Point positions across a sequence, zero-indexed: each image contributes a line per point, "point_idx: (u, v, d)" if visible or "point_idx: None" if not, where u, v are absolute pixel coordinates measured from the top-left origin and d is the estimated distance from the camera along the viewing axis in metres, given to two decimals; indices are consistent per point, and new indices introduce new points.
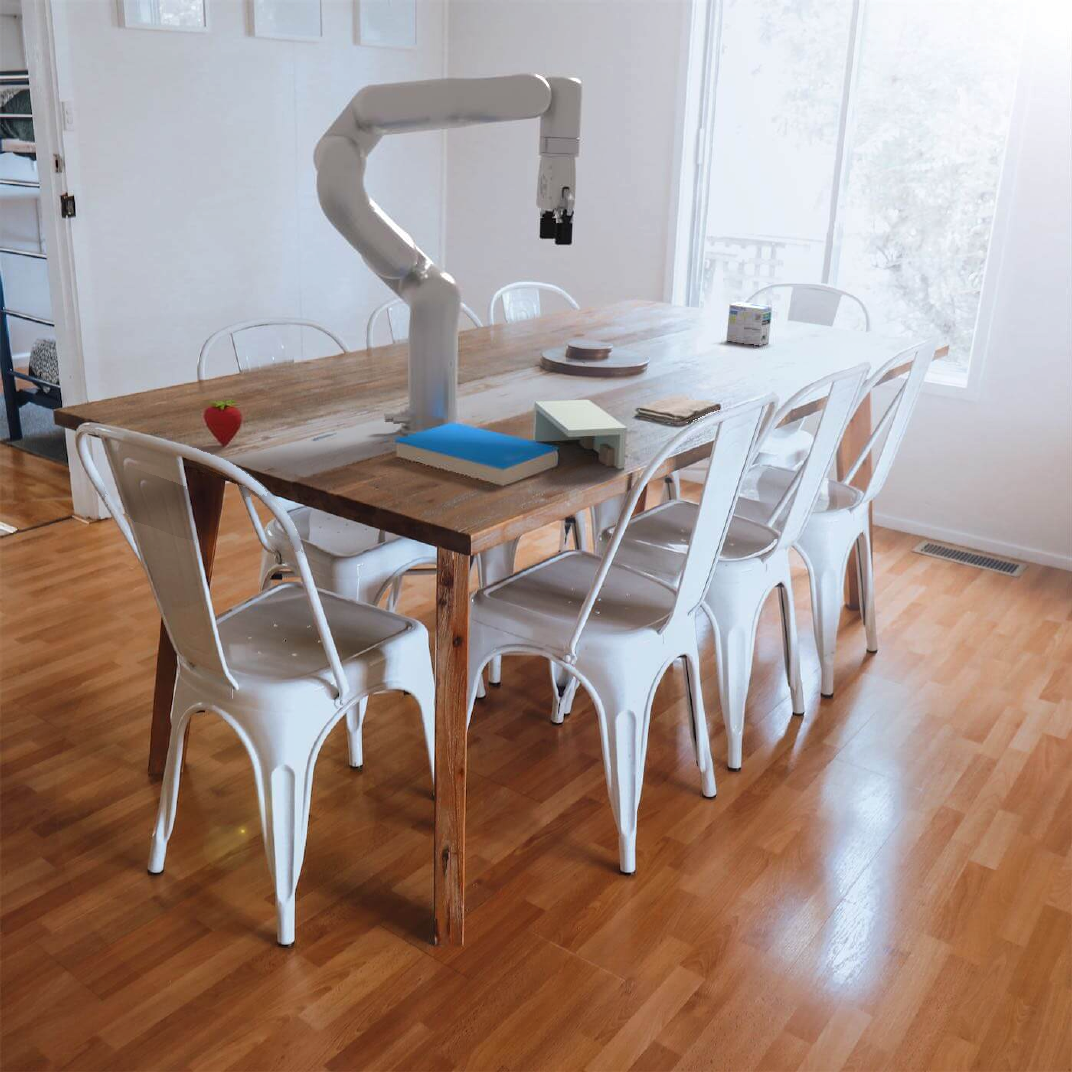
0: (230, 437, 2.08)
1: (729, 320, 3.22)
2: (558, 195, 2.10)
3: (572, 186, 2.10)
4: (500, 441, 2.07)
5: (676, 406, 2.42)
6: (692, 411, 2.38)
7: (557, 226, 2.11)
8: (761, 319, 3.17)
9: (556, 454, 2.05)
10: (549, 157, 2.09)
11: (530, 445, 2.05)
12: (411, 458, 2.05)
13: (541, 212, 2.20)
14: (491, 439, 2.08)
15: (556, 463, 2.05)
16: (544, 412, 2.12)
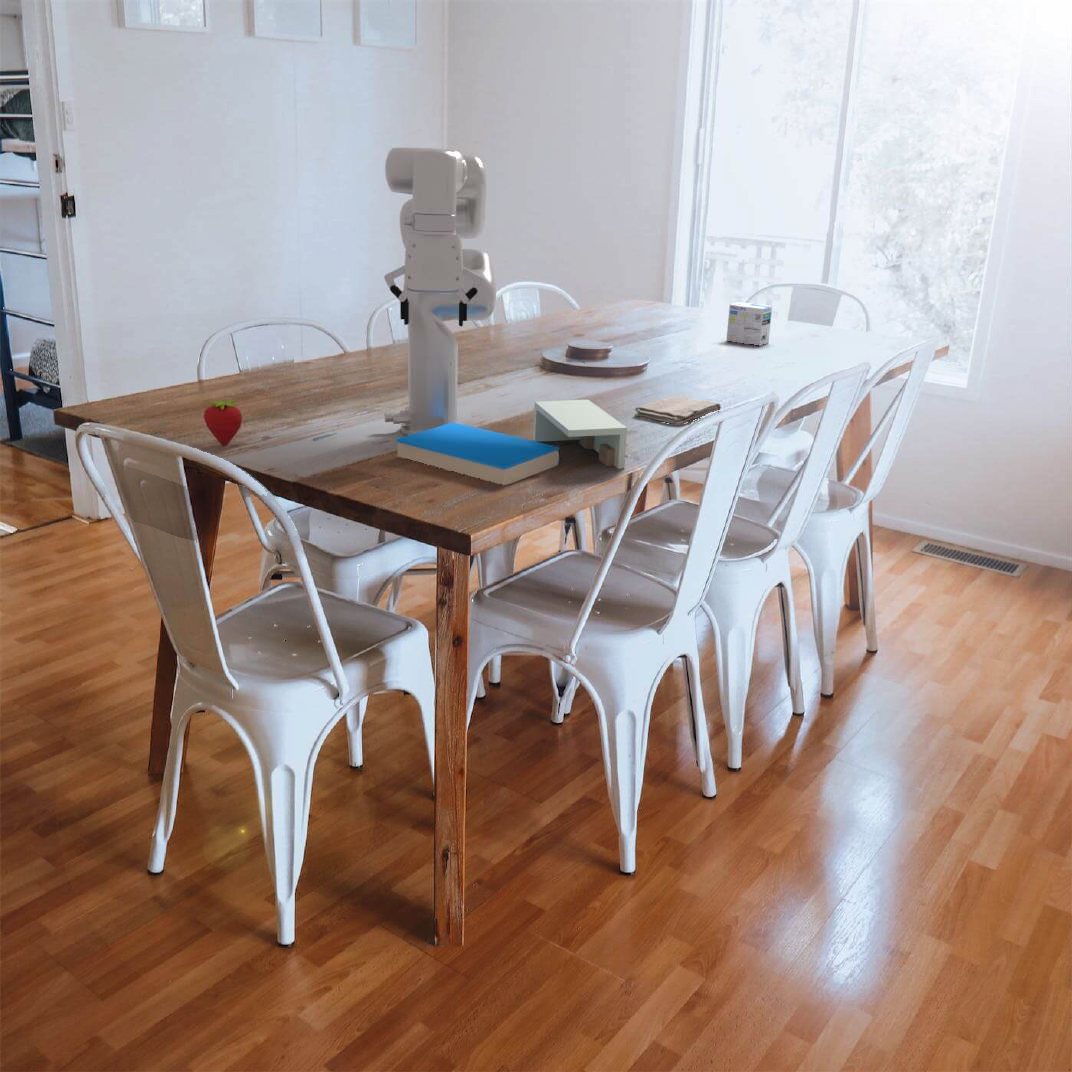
0: (230, 437, 2.08)
1: (729, 320, 3.22)
2: (462, 274, 1.97)
3: None
4: (501, 441, 2.07)
5: (676, 406, 2.42)
6: (692, 411, 2.38)
7: (462, 307, 1.99)
8: (761, 319, 3.17)
9: (557, 454, 2.05)
10: (446, 236, 1.94)
11: (531, 445, 2.05)
12: (412, 458, 2.05)
13: (403, 296, 1.98)
14: (492, 439, 2.08)
15: (557, 463, 2.06)
16: (544, 412, 2.12)
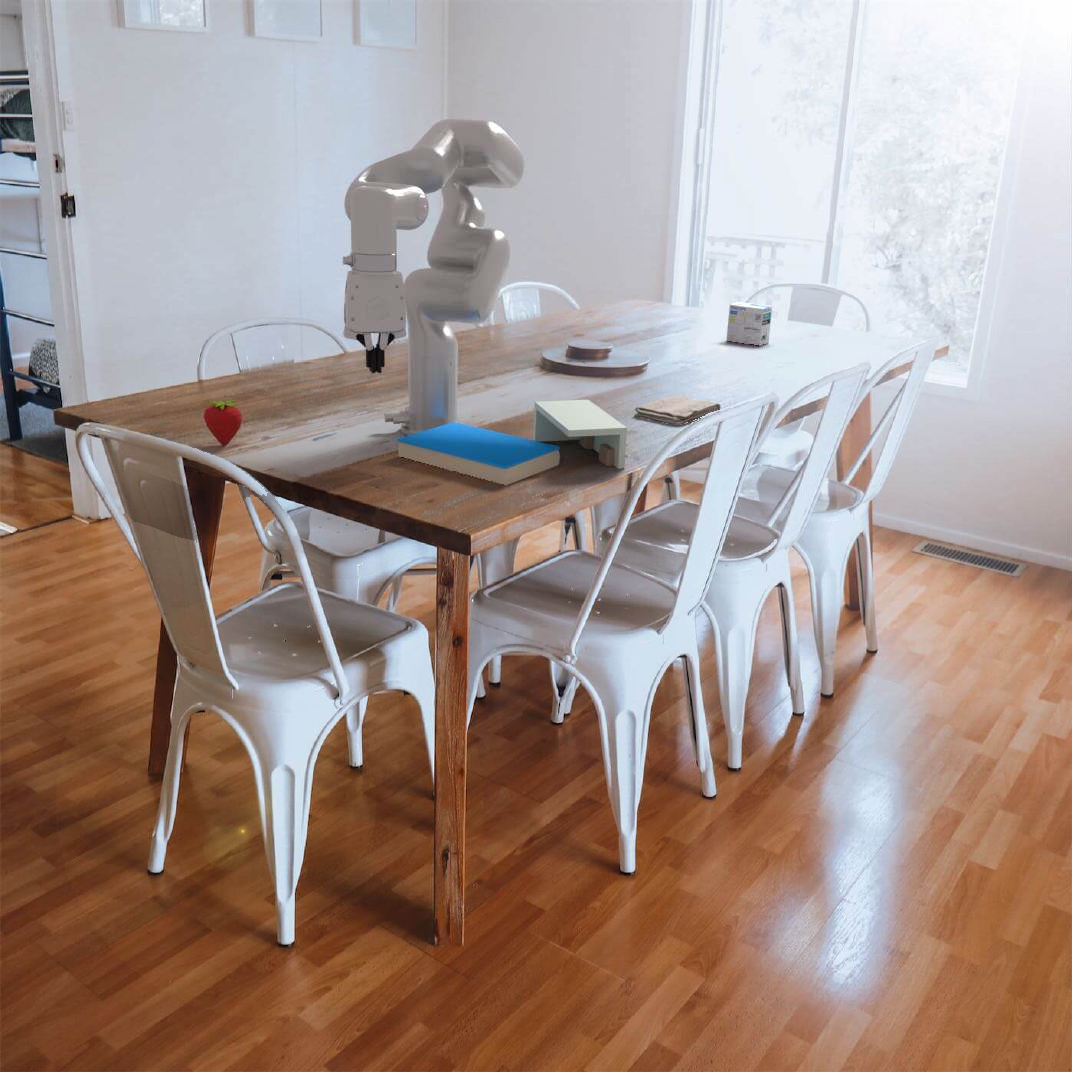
0: (230, 437, 2.08)
1: (729, 320, 3.22)
2: None
3: None
4: (502, 440, 2.07)
5: (675, 406, 2.42)
6: (691, 411, 2.38)
7: (381, 353, 1.94)
8: (761, 319, 3.17)
9: (558, 454, 2.05)
10: (390, 275, 1.88)
11: (532, 445, 2.05)
12: (413, 458, 2.05)
13: (369, 344, 1.92)
14: (493, 439, 2.08)
15: (558, 463, 2.06)
16: (544, 412, 2.12)
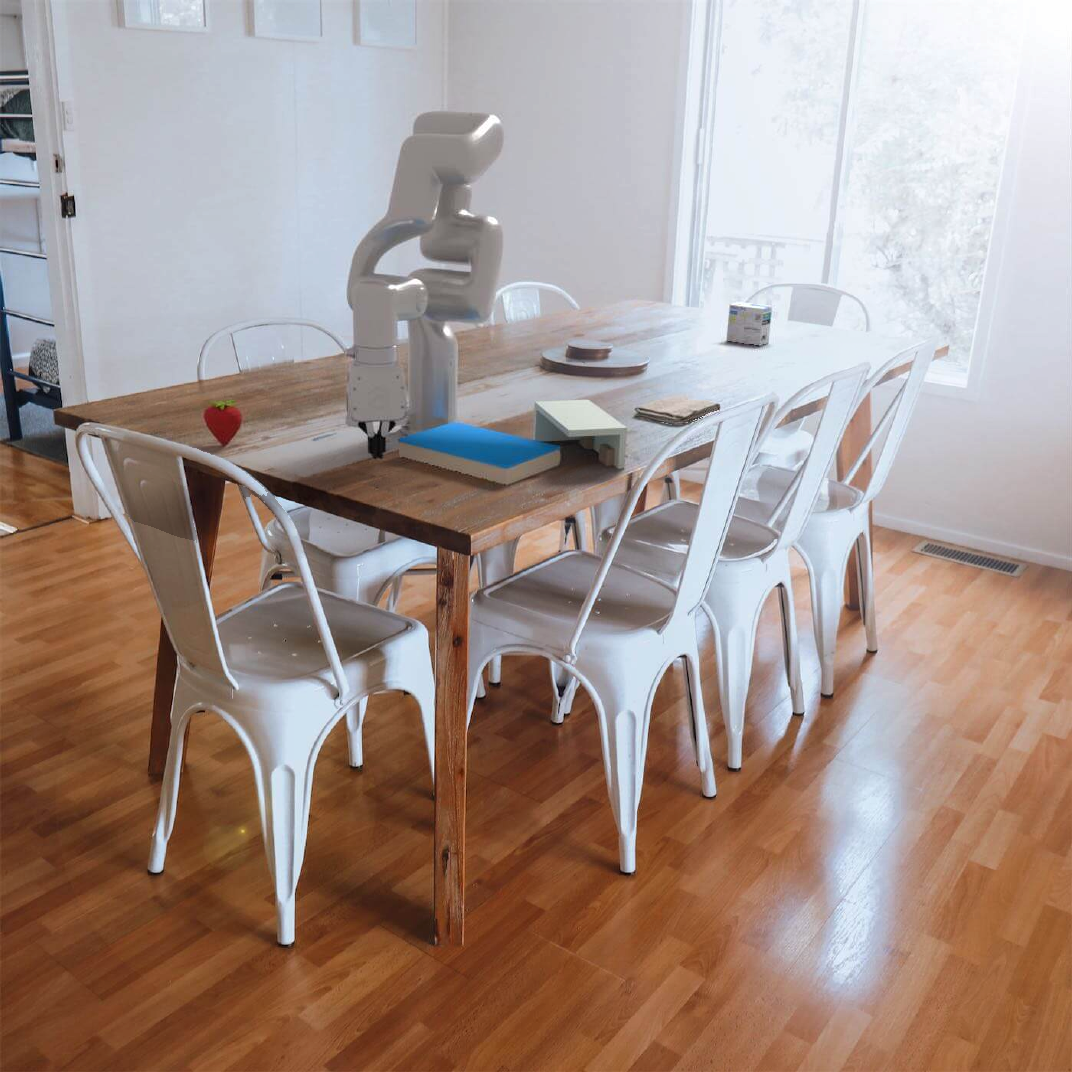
0: (230, 437, 2.08)
1: (729, 320, 3.22)
2: None
3: None
4: (503, 440, 2.07)
5: (675, 406, 2.42)
6: (691, 411, 2.38)
7: None
8: (761, 319, 3.17)
9: (558, 453, 2.05)
10: (391, 367, 1.94)
11: (532, 444, 2.05)
12: (414, 458, 2.05)
13: (370, 431, 1.98)
14: (493, 438, 2.08)
15: (558, 462, 2.06)
16: (544, 412, 2.12)
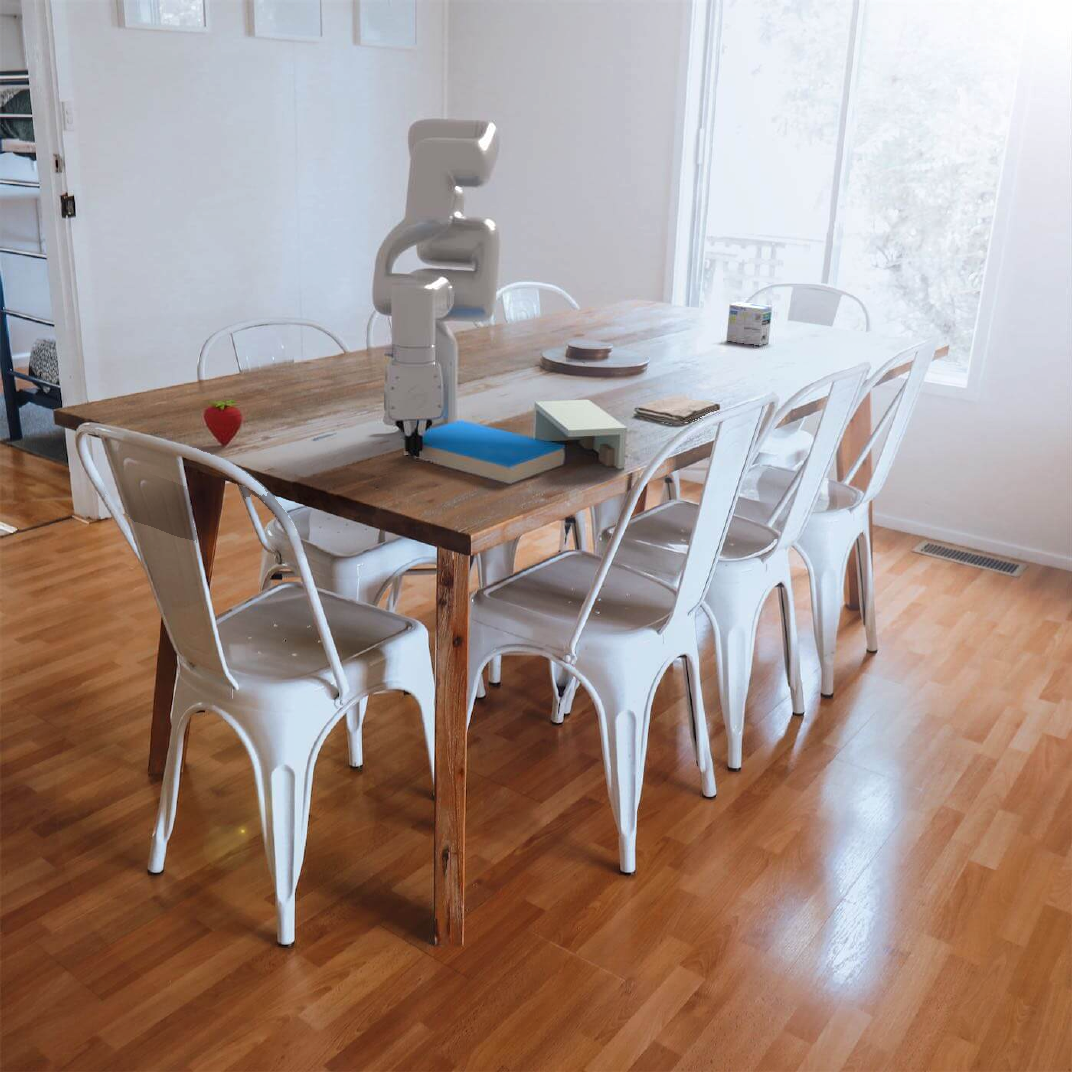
0: (230, 437, 2.08)
1: (729, 320, 3.22)
2: None
3: None
4: (507, 439, 2.08)
5: (675, 406, 2.42)
6: (691, 411, 2.38)
7: None
8: (761, 319, 3.17)
9: (562, 452, 2.05)
10: (428, 366, 1.96)
11: (537, 443, 2.06)
12: (419, 456, 2.06)
13: (407, 430, 2.00)
14: (498, 437, 2.09)
15: (562, 461, 2.06)
16: (544, 412, 2.12)
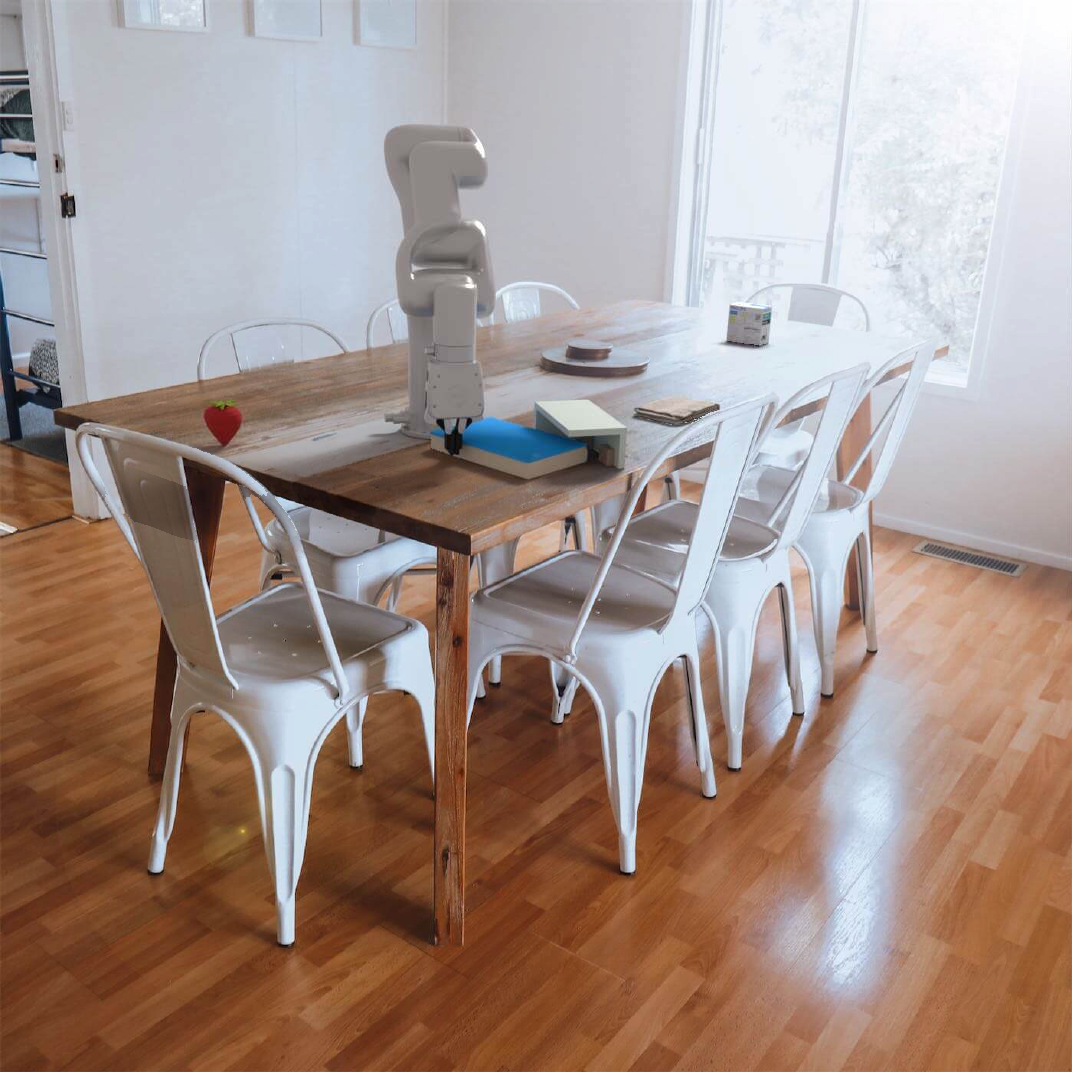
0: (230, 437, 2.08)
1: (729, 320, 3.22)
2: None
3: None
4: (532, 436, 2.11)
5: (675, 406, 2.42)
6: (690, 411, 2.38)
7: None
8: (761, 319, 3.17)
9: (585, 450, 2.08)
10: (469, 365, 1.98)
11: (560, 441, 2.08)
12: (444, 450, 2.10)
13: (448, 428, 2.02)
14: (523, 434, 2.12)
15: (585, 459, 2.08)
16: (544, 412, 2.12)
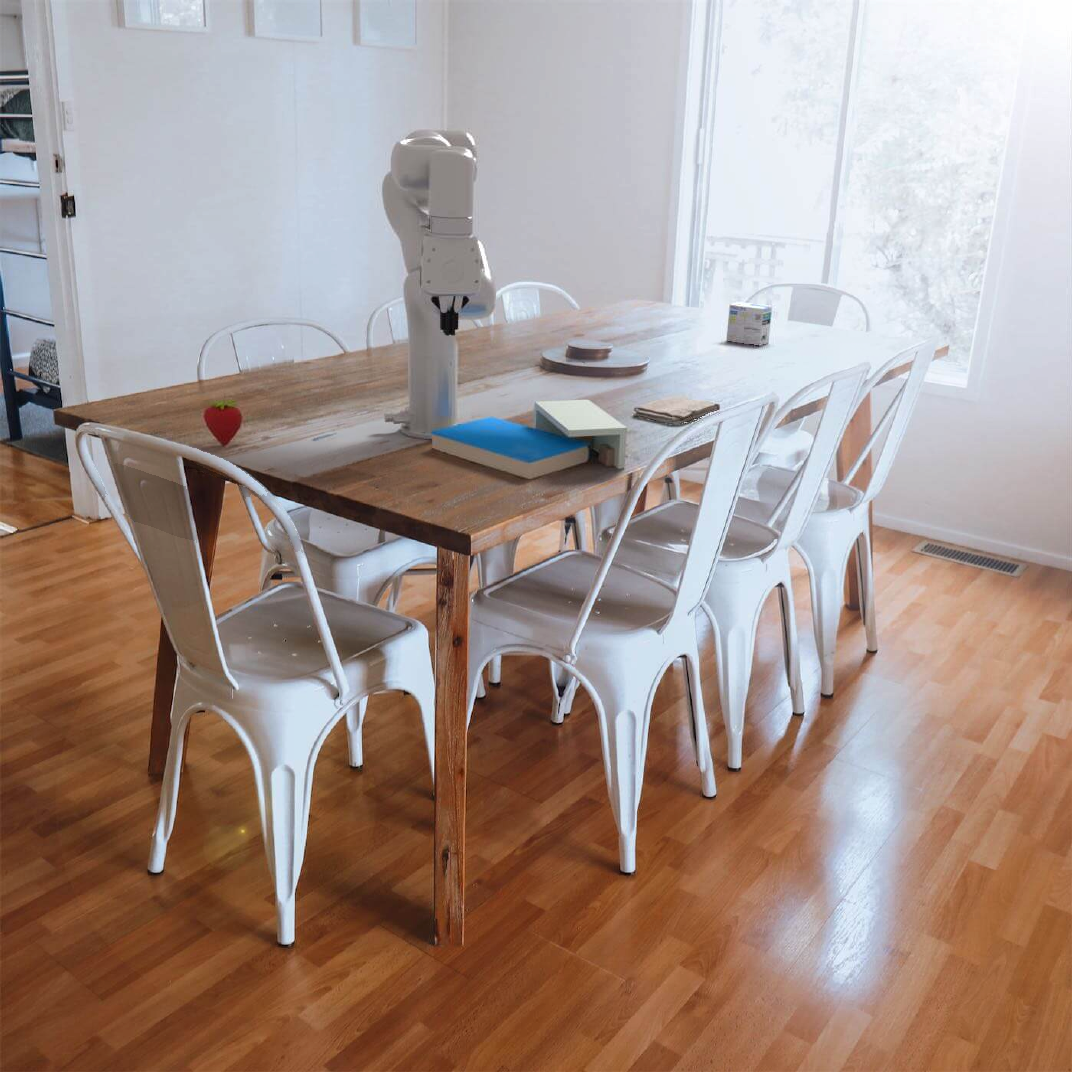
0: (230, 437, 2.08)
1: (729, 320, 3.22)
2: None
3: None
4: (533, 436, 2.11)
5: (674, 406, 2.42)
6: (690, 411, 2.38)
7: (455, 316, 1.96)
8: (761, 319, 3.17)
9: (586, 450, 2.08)
10: (466, 238, 1.91)
11: (561, 440, 2.08)
12: (446, 450, 2.10)
13: (443, 306, 1.95)
14: (524, 434, 2.12)
15: (586, 459, 2.09)
16: (544, 412, 2.12)
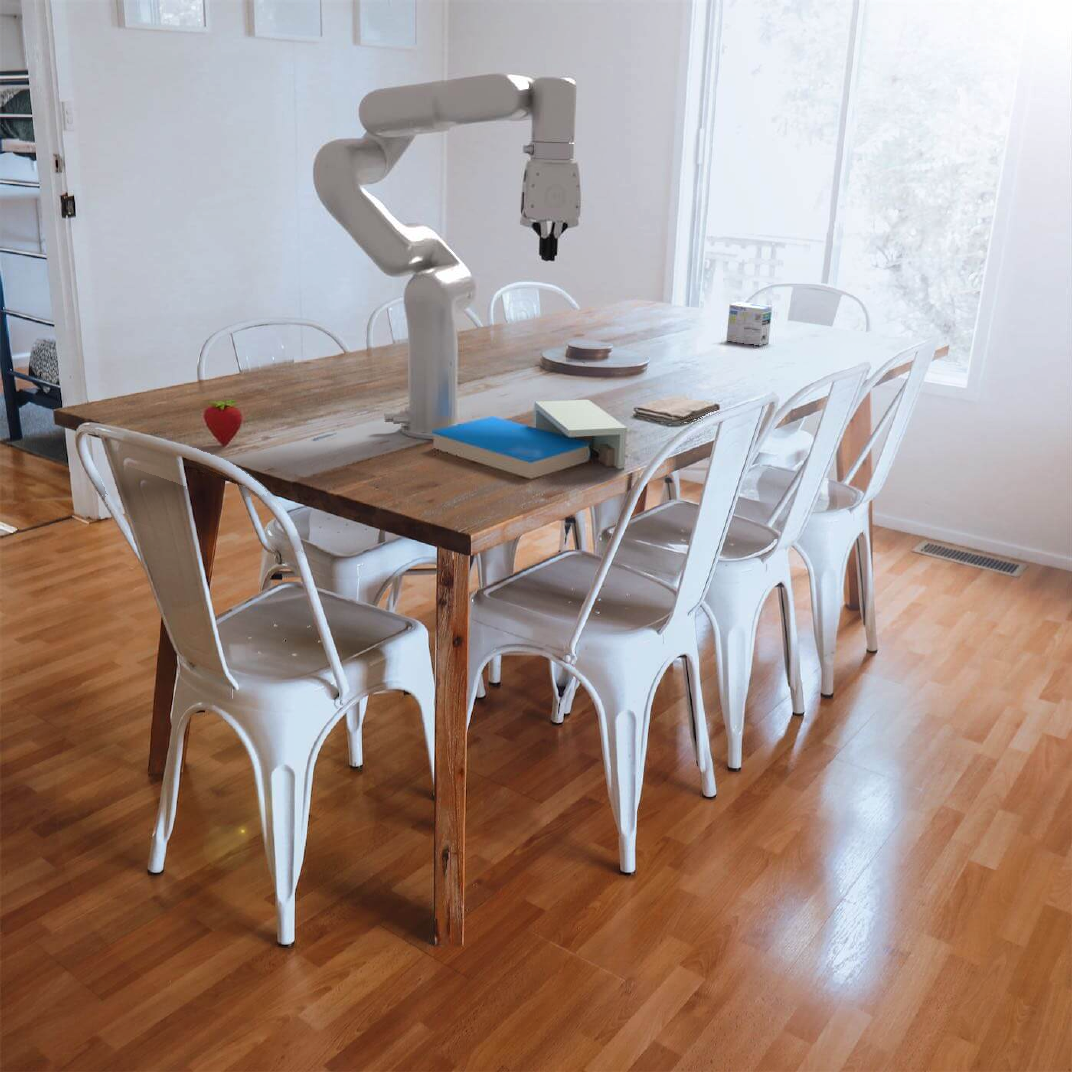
0: (230, 437, 2.08)
1: (729, 320, 3.22)
2: None
3: None
4: (534, 435, 2.11)
5: (674, 406, 2.42)
6: (690, 411, 2.38)
7: None
8: (761, 319, 3.17)
9: (588, 450, 2.08)
10: (568, 164, 1.96)
11: (562, 440, 2.09)
12: (447, 450, 2.10)
13: (544, 232, 2.01)
14: (526, 433, 2.12)
15: (588, 458, 2.09)
16: (544, 412, 2.12)
